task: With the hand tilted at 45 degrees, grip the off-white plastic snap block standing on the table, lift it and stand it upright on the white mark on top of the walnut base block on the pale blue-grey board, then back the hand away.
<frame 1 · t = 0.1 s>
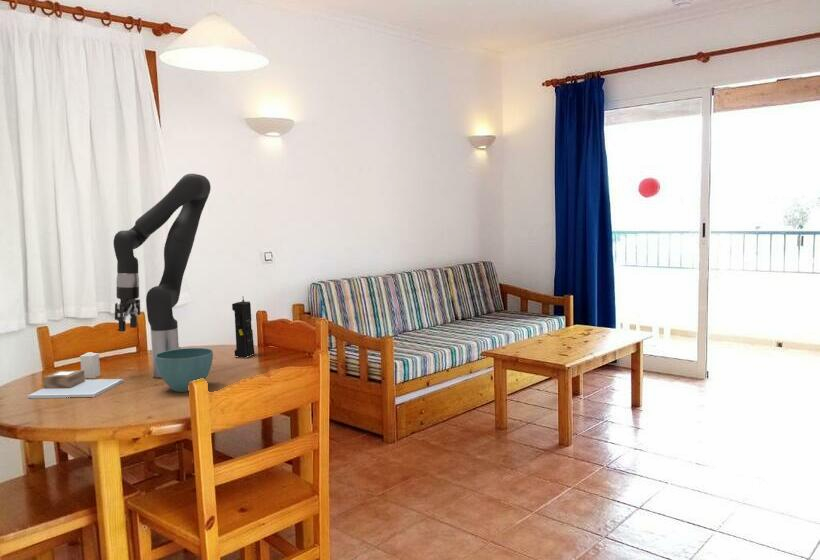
hand: (127, 329, 234), 17 cm above the table, tool pointing down, fingers open, 8 cm apart
snap block: (91, 377, 235), on the table
teal bowl: (186, 389, 214), on the table
portable radio: (244, 357, 264), on the table
build board: (77, 389, 217), on the table
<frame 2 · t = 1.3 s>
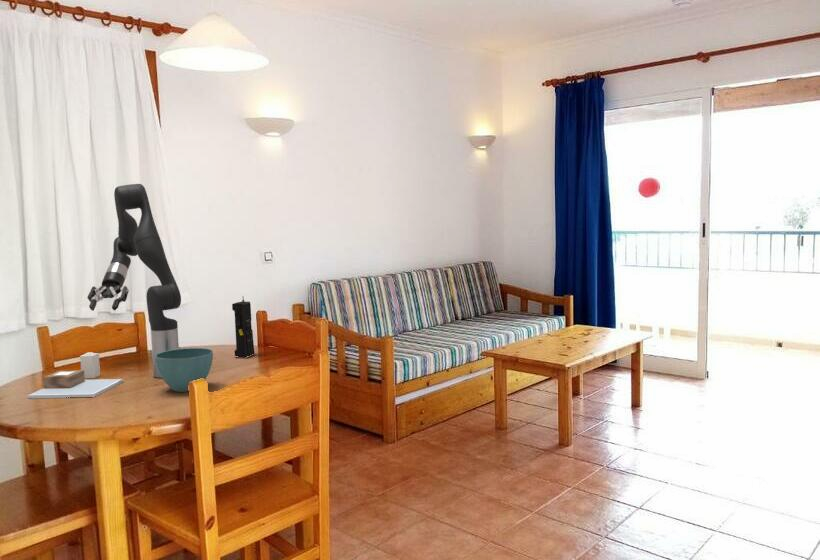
hand: (102, 309, 244), 24 cm above the table, tool tilted 45°, fingers open, 8 cm apart
nothing on the table moved.
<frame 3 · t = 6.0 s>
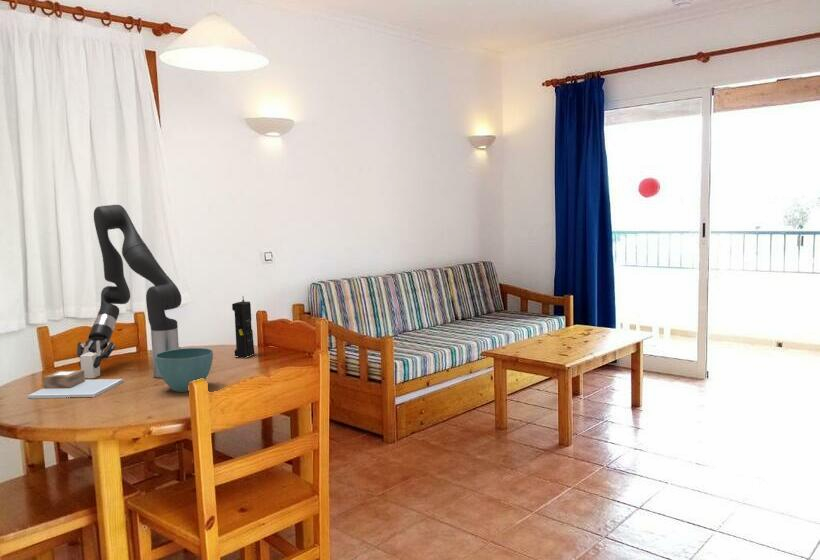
hand: (88, 366, 233), 4 cm above the table, tool tilted 45°, fingers closed on snap block, 4 cm apart
snap block: (91, 377, 235), on the table, touching gripper
everything else where it was.
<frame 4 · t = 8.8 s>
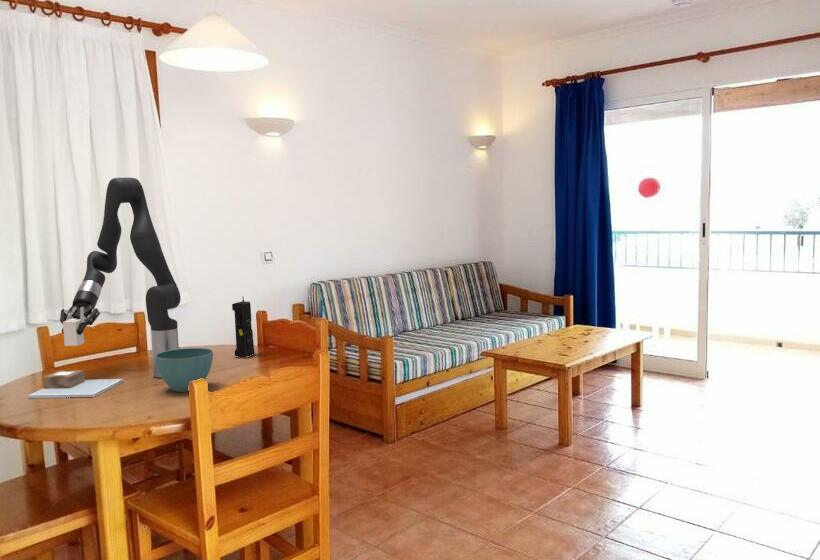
hand: (71, 333, 224), 18 cm above the table, tool tilted 45°, fingers closed on snap block, 4 cm apart
snap block: (74, 344, 226), point 14 cm above the table, touching gripper
everything else where it was.
when the fingers open (10 cm above the table, at t = 11.6 s): snap block stays where it is, resting on build board.
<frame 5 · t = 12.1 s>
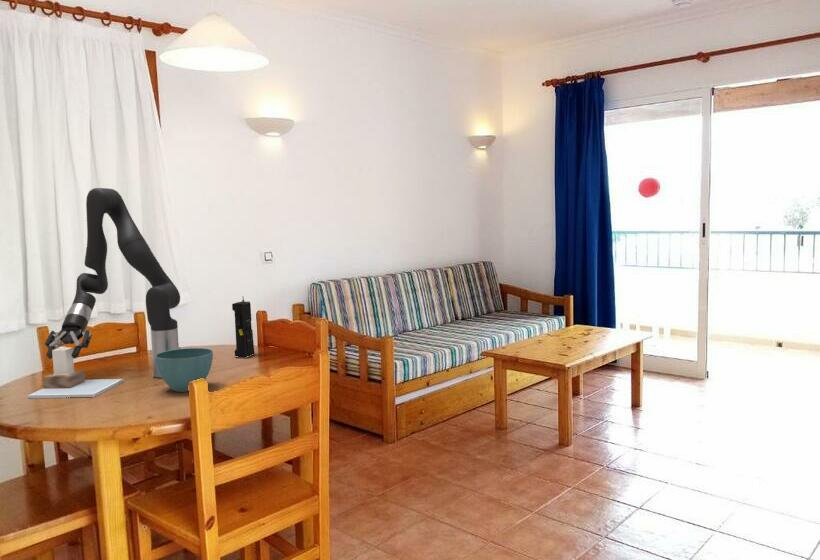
hand: (61, 357, 218), 11 cm above the table, tool tilted 45°, fingers open, 8 cm apart
snap block: (64, 373, 220), point 5 cm above the table, touching build board
everything else where it was.
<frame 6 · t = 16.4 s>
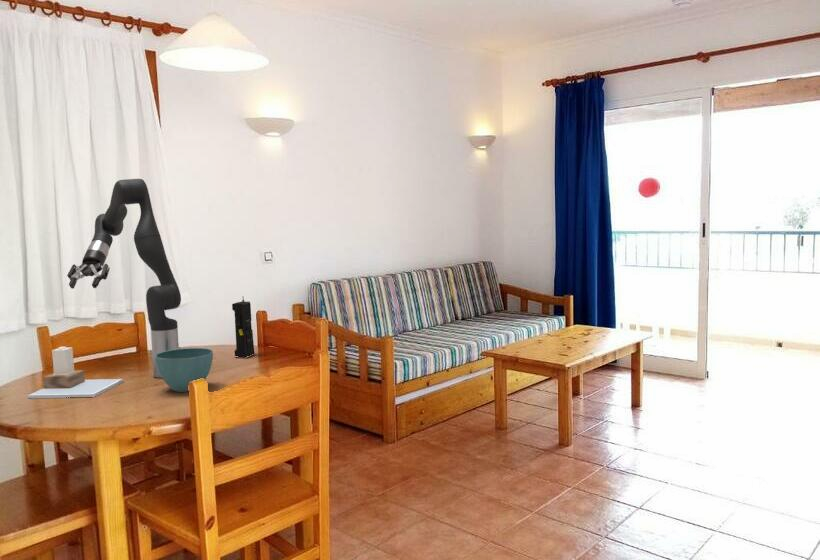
hand: (82, 287, 240), 33 cm above the table, tool tilted 45°, fingers open, 8 cm apart
nothing on the table moved.
at the end: snap block inside the target area (0.1 cm from its centre), point 5.1 cm above the table; snap block tilted 0°; the gripper is holding nothing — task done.
